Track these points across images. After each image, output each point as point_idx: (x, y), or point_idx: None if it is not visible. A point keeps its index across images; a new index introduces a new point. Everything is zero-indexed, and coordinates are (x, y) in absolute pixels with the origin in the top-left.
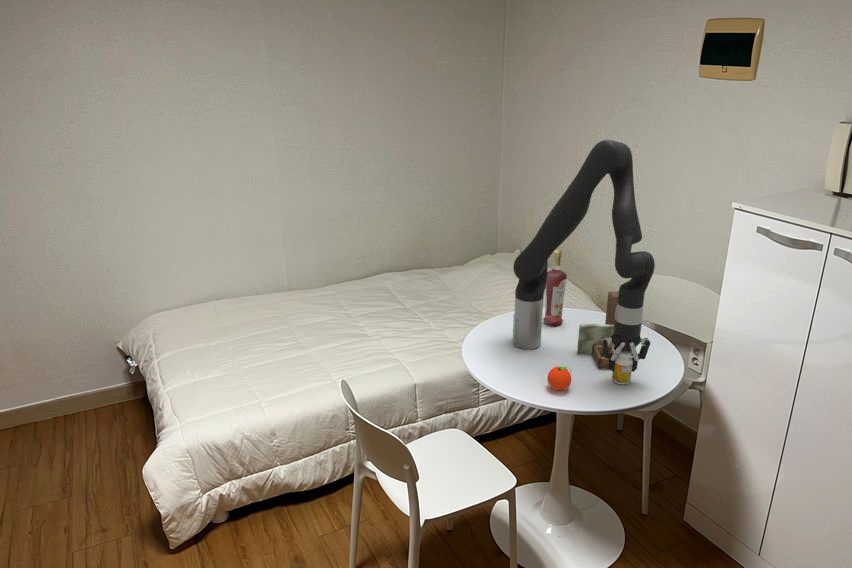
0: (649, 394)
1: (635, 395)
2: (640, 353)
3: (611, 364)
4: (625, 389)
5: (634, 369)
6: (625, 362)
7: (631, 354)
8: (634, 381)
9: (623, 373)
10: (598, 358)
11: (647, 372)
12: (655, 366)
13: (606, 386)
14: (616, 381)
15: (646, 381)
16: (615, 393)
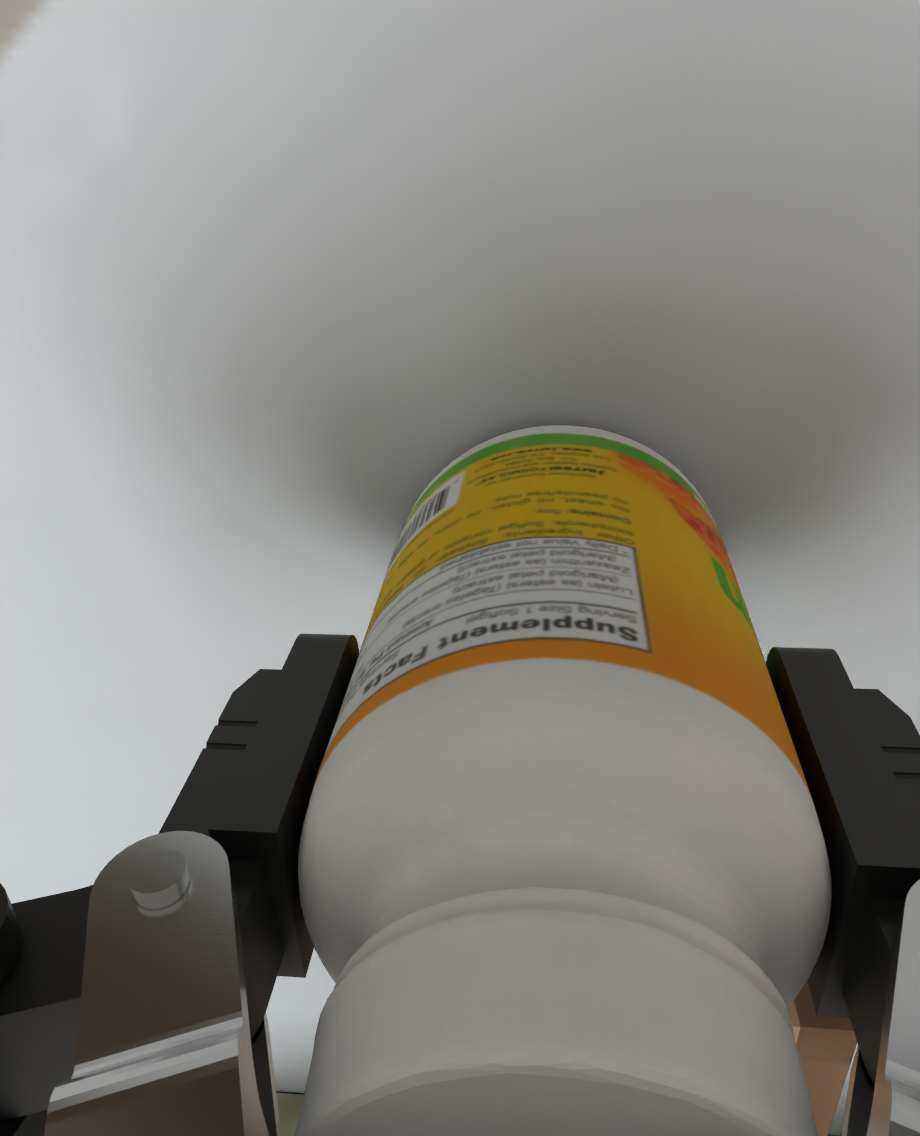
0: (95, 83)
1: (389, 5)
2: (2, 1096)
3: (891, 783)
4: (547, 265)
5: (294, 661)
6: (558, 756)
7: (281, 1094)
8: (329, 552)
9: (584, 530)
10: (847, 1042)
11: (116, 779)
12: (17, 895)
13: (900, 364)
14: (682, 477)
15: (138, 556)
16: (820, 64)
